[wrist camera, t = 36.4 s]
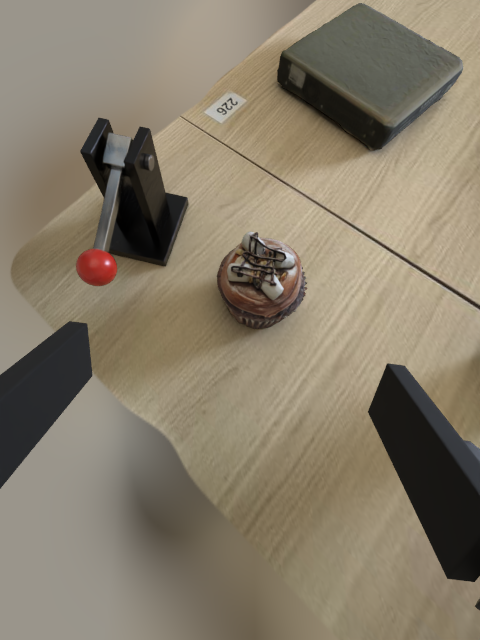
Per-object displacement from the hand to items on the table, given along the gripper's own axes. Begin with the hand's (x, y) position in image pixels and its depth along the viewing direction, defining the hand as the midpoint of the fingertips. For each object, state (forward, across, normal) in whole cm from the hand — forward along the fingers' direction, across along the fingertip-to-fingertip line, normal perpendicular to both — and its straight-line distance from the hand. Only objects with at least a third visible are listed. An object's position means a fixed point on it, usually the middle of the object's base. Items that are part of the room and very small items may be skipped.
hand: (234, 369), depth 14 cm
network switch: (+52, +16, +23) cm, 59 cm away
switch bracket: (+29, -13, 0) cm, 32 cm away
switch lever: (+21, -14, +2) cm, 25 cm away
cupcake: (+24, +2, -6) cm, 24 cm away
